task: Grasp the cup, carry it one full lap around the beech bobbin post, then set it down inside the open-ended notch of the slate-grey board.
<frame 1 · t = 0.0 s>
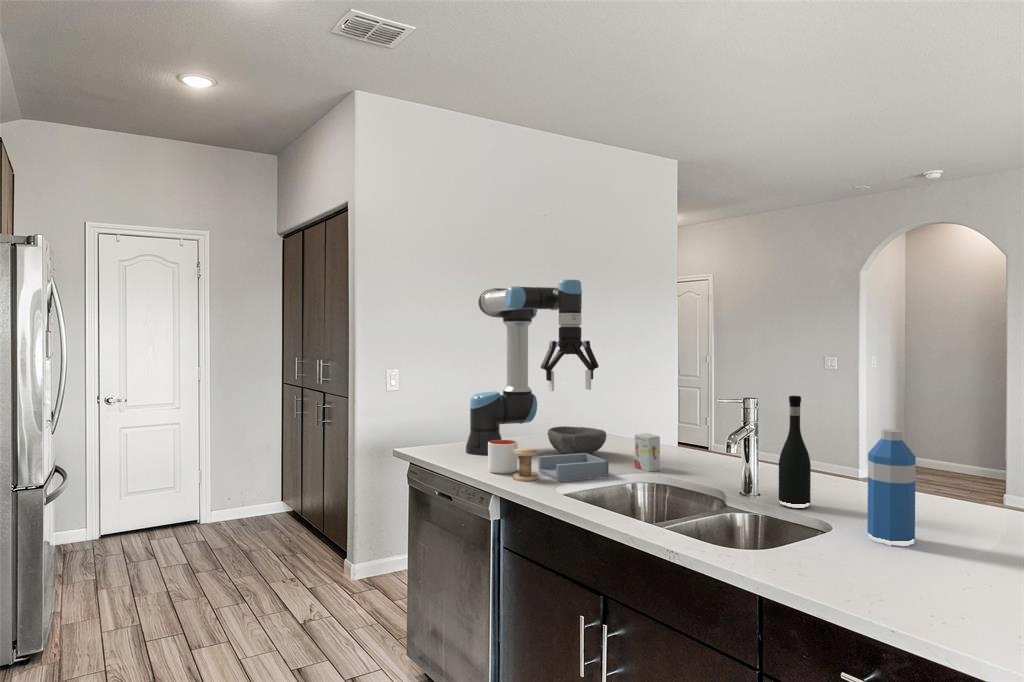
hand: (569, 390, 219), 28 cm above the worktop, fingers open, 13 cm apart
notch board: (572, 474, 219), on the worktop
water bottle: (890, 541, 150), on the worktop
ink box: (646, 469, 228), on the worktop
bowl: (576, 455, 254), on the worktop
cup: (502, 472, 224), on the worktop
wine bottle: (794, 506, 179), on the worktop
bobbin: (525, 478, 212), on the worktop
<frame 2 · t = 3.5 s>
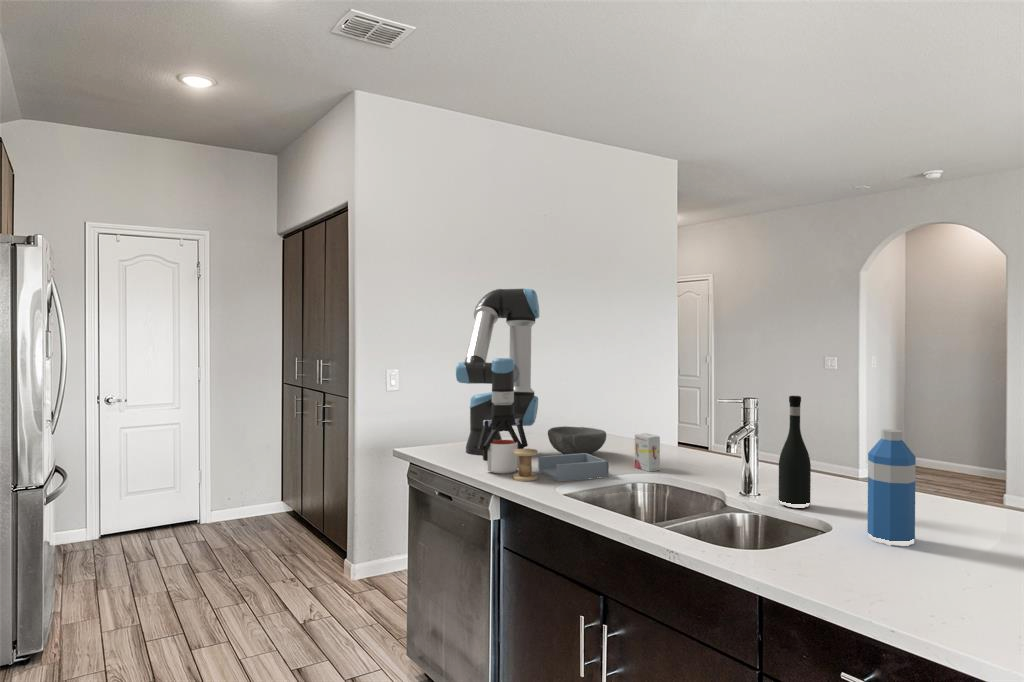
hand: (502, 468, 224), 1 cm above the worktop, fingers closed on cup, 10 cm apart
cup: (502, 471, 224), on the worktop, touching gripper
everything else where it was.
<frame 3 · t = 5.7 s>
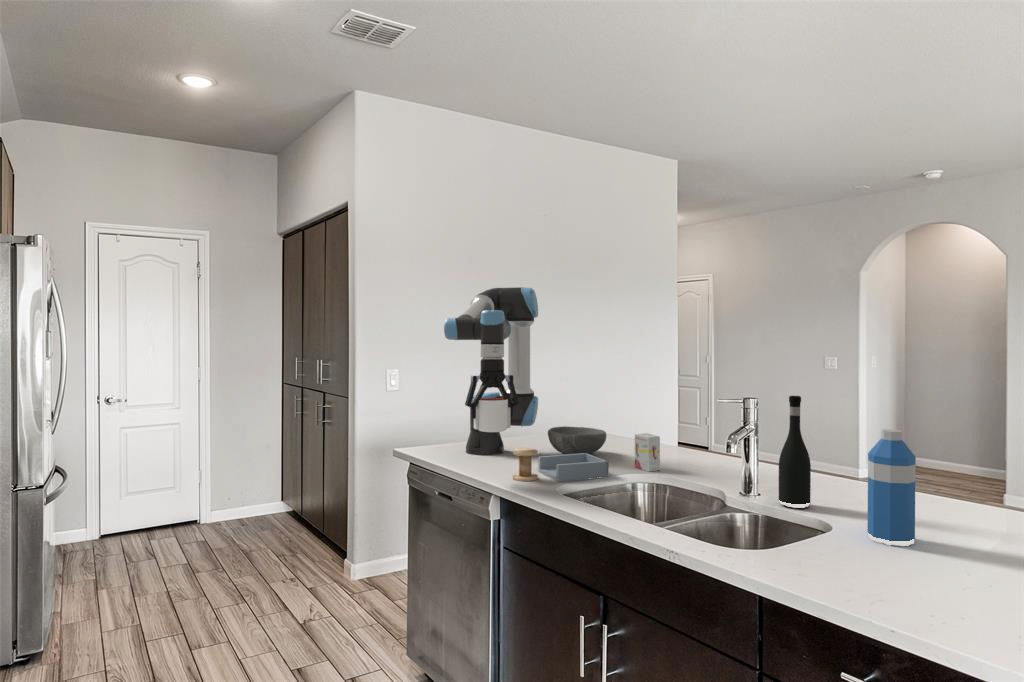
hand: (492, 428, 210), 17 cm above the worktop, fingers closed on cup, 10 cm apart
cup: (492, 431, 210), point 16 cm above the worktop, touching gripper
everything else where it was.
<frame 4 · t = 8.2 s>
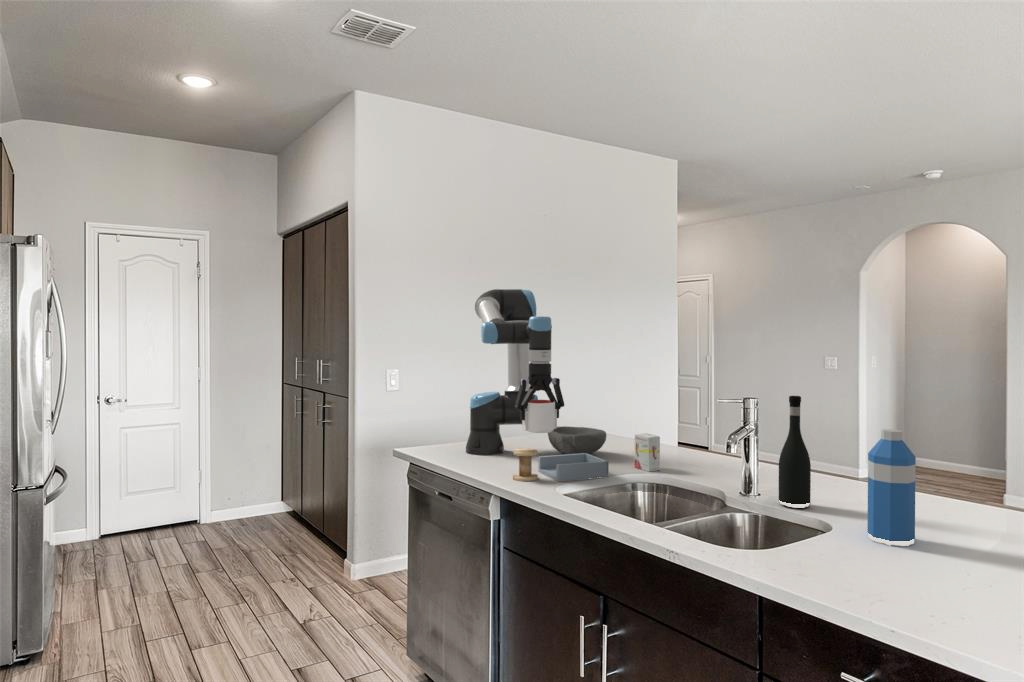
hand: (539, 428, 220), 15 cm above the worktop, fingers closed on cup, 10 cm apart
cup: (539, 431, 220), point 14 cm above the worktop, touching gripper
everything else where it was.
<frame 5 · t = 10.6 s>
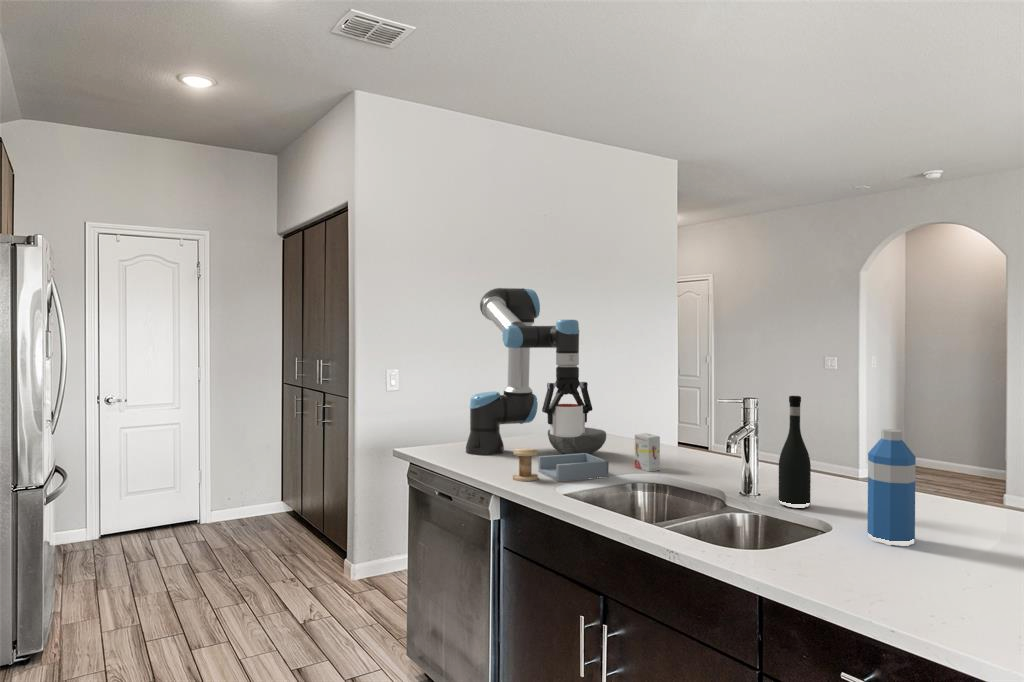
hand: (567, 433, 218), 14 cm above the worktop, fingers closed on cup, 10 cm apart
cup: (567, 436, 218), point 13 cm above the worktop, touching gripper
everything else where it was.
when the fingers open (3 cm above the worktop, at t = 12.8 s): cup drops 2 cm, resting on notch board.
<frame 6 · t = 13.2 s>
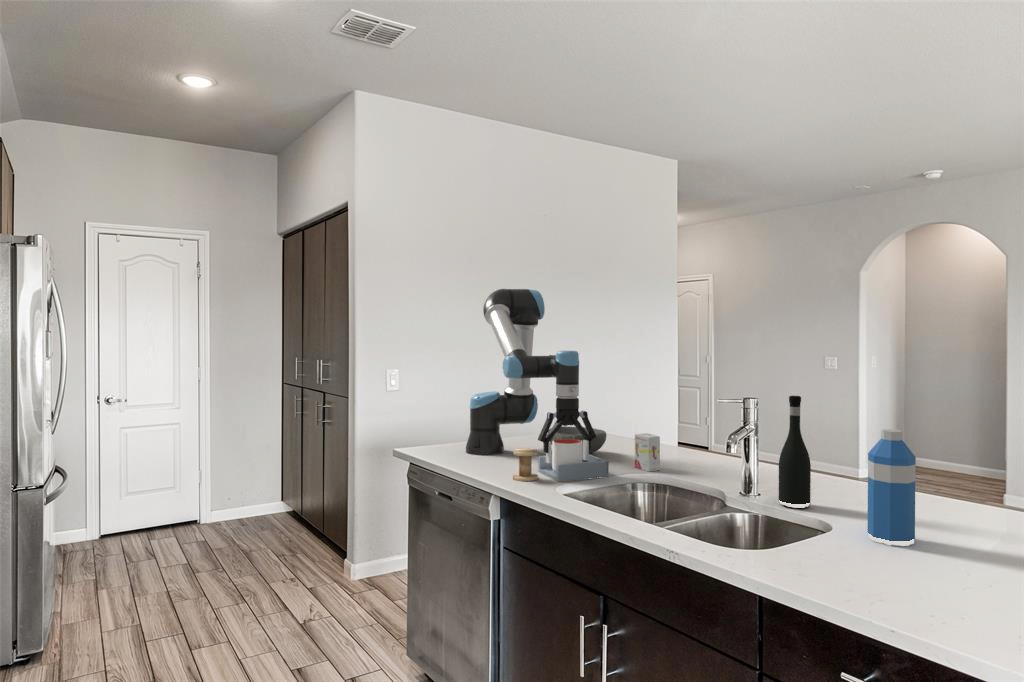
hand: (567, 461, 218), 4 cm above the worktop, fingers open, 13 cm apart
cup: (567, 471, 218), point 1 cm above the worktop, touching notch board
everything else where it was.
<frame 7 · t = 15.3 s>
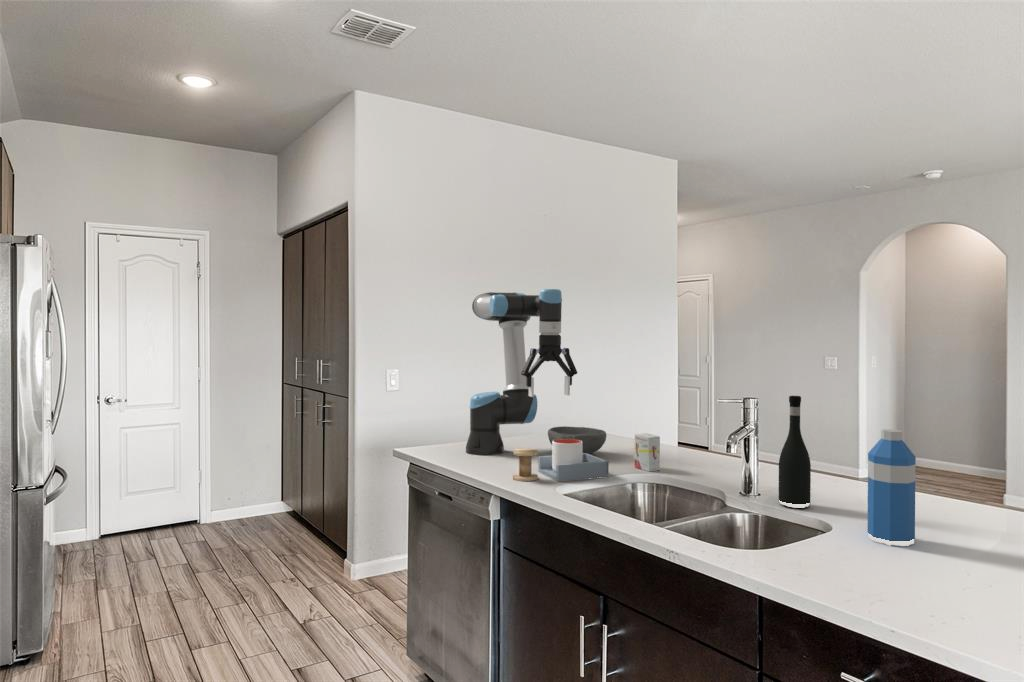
hand: (549, 395, 227), 25 cm above the worktop, fingers open, 13 cm apart
nothing on the worktop moved.
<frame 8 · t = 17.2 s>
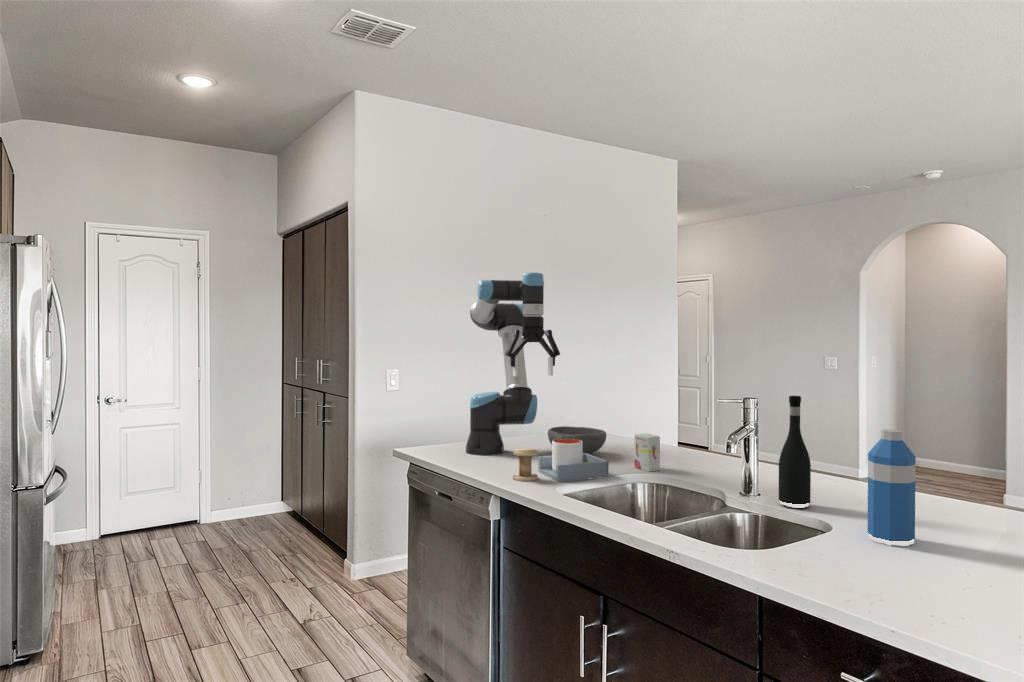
hand: (532, 375, 235), 32 cm above the worktop, fingers open, 13 cm apart
nothing on the worktop moved.
at the end: cup inside the target area on the notch board (1.0 cm from its centre), point 1.0 cm above the notch board's base; cup tilted 0°; the gripper is holding nothing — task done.
